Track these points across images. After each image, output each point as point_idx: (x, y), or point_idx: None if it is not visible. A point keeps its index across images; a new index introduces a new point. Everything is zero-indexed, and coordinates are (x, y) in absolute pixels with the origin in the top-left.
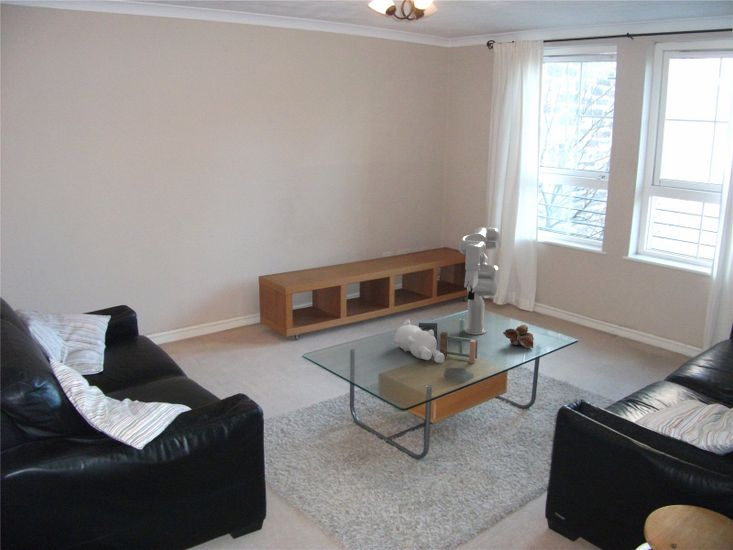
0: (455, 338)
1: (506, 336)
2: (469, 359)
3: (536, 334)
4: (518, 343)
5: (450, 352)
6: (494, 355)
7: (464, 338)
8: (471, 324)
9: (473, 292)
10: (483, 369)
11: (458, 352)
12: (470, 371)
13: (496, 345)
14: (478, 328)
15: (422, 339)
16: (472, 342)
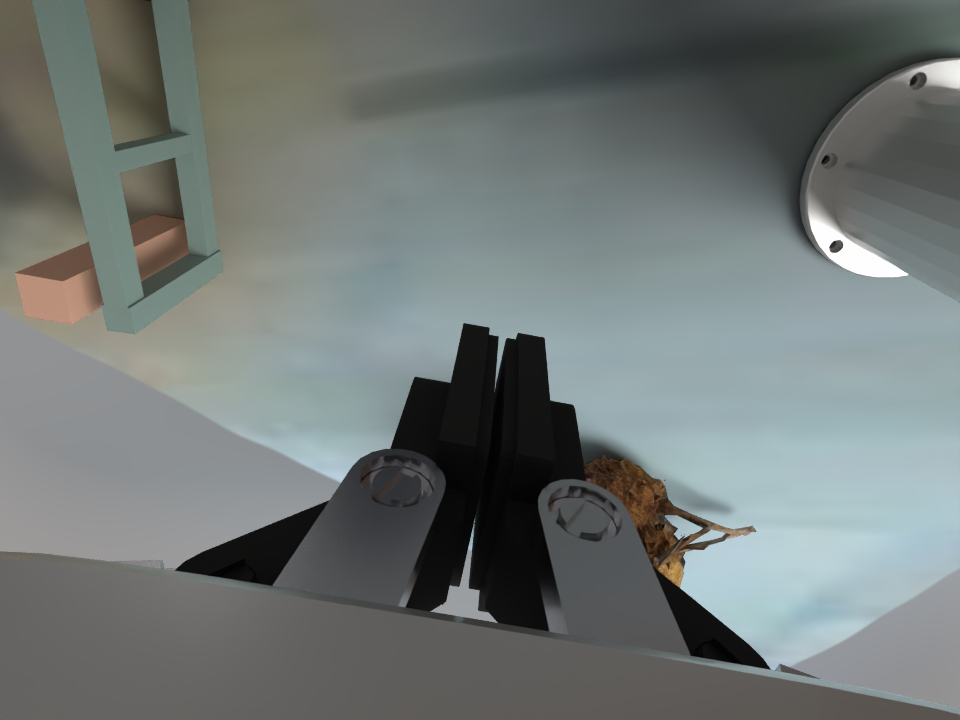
0: (61, 90)
1: None
2: (137, 224)
3: (818, 573)
4: None
5: (159, 34)
6: (372, 367)
7: (87, 202)
8: (896, 158)
9: (483, 585)
10: (104, 320)
11: (184, 117)
12: (20, 242)
13: (568, 368)
14: (855, 226)
15: None
16: (27, 295)
